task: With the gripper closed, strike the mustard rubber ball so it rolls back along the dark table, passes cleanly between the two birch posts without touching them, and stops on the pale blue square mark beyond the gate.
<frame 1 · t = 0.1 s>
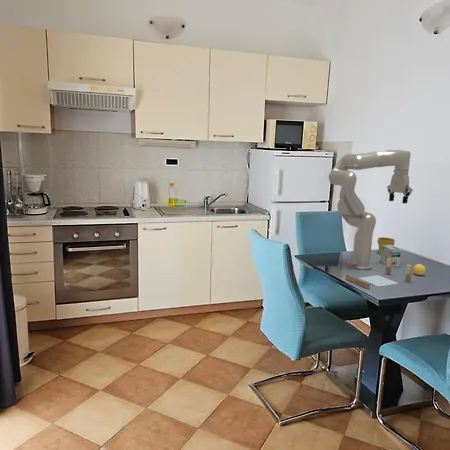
hand: (397, 202, 242), 37 cm above the table, tool pointing down, fingers open, 9 cm apart
stopper wall: (357, 284, 208), on the table
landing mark: (378, 281, 214), on the table
plant pot: (384, 253, 271), on the table
post right: (407, 281, 214), on the table
post left: (387, 274, 226), on the table
light bulb box: (389, 264, 246), on the table
ball: (419, 269, 226), on the table
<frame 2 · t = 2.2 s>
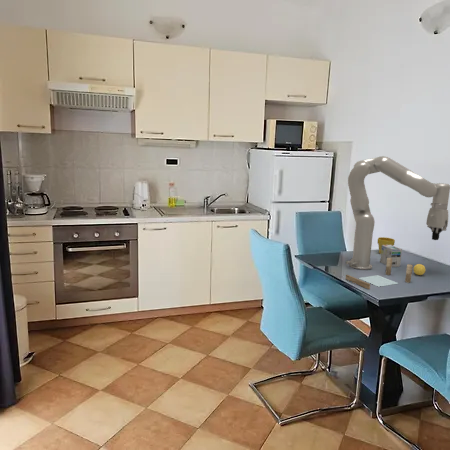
hand: (435, 239, 227), 19 cm above the table, tool pointing down, fingers closed
nothing on the table moved.
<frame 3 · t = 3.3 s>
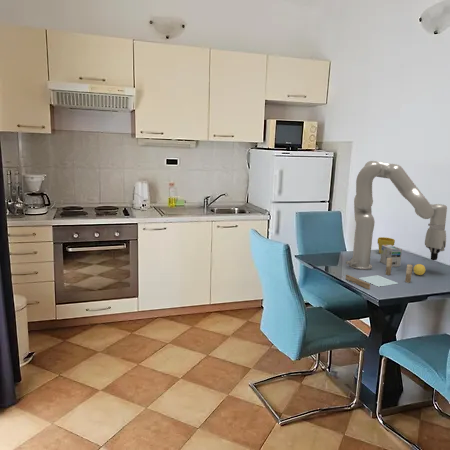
hand: (433, 259, 229), 8 cm above the table, tool pointing down, fingers closed
nothing on the table moved.
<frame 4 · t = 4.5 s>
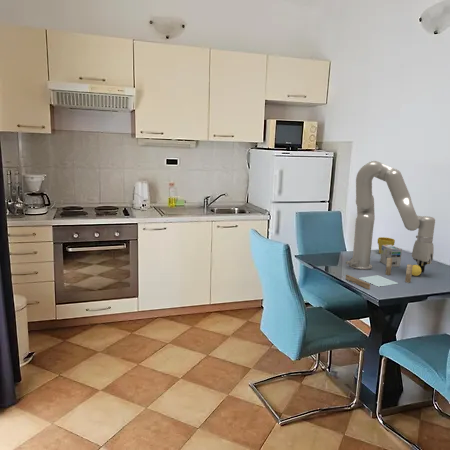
hand: (420, 272, 227), 1 cm above the table, tool pointing down, fingers closed
ball: (415, 270, 225), on the table
everything else where it was.
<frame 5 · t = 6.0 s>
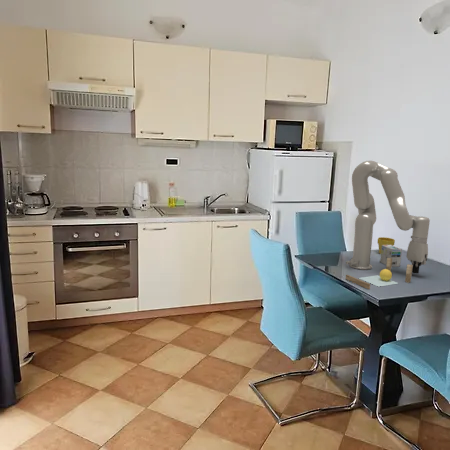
hand: (415, 272, 225), 2 cm above the table, tool pointing down, fingers closed
ball: (385, 274, 214), on the table
everything else where it was.
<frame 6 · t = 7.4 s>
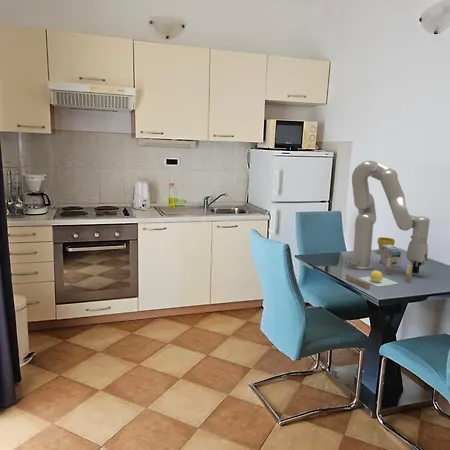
hand: (415, 272, 225), 2 cm above the table, tool pointing down, fingers closed
ball: (376, 276, 211), on the table
everything else where it was.
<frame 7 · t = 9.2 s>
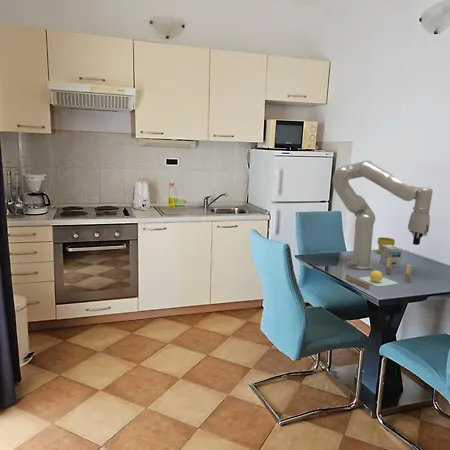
hand: (416, 244, 224), 17 cm above the table, tool pointing down, fingers closed
nothing on the table moved.
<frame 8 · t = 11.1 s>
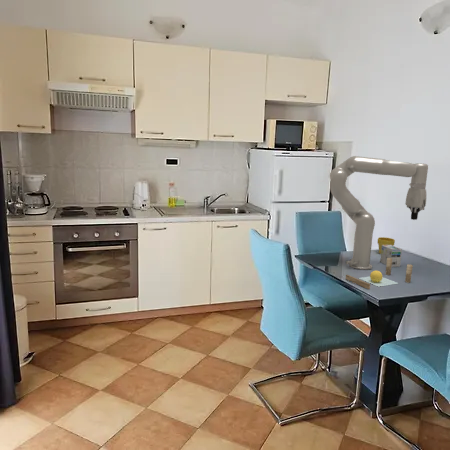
hand: (413, 219, 230), 29 cm above the table, tool pointing down, fingers closed
nothing on the table moved.
at the end: ball 2.7 cm from the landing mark (horizontally); ball never touched post left; ball never touched post right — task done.
